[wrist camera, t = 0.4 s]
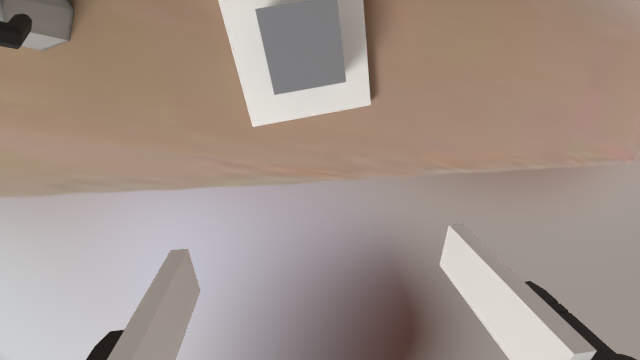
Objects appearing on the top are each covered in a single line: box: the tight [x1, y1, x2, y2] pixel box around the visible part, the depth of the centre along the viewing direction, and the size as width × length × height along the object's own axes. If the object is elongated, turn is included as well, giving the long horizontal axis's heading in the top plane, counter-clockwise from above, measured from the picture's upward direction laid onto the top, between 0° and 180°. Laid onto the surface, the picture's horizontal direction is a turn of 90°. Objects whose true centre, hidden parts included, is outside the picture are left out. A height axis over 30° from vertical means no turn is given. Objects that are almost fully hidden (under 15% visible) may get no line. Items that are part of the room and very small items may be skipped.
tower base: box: [218, 0, 371, 127], centre depth 30 cm, size 16×16×6 cm
